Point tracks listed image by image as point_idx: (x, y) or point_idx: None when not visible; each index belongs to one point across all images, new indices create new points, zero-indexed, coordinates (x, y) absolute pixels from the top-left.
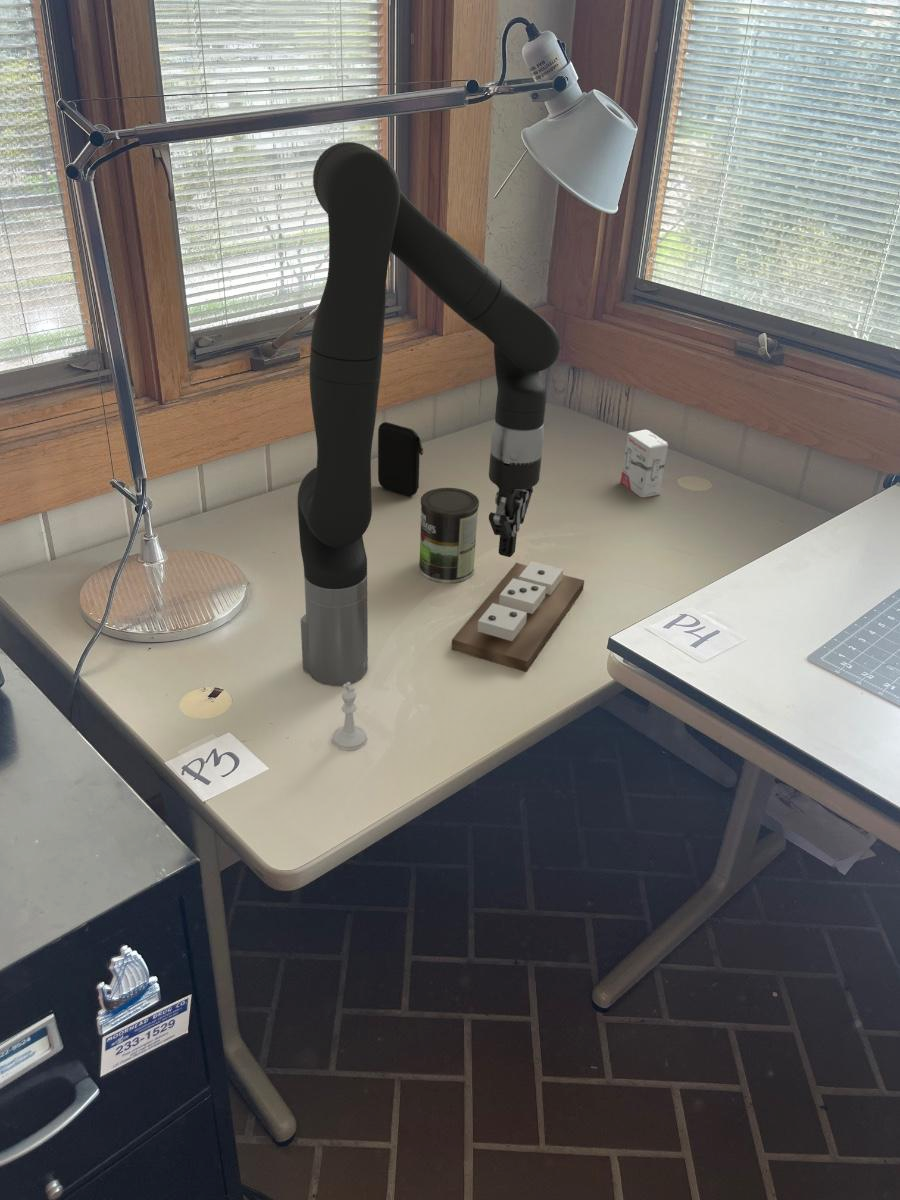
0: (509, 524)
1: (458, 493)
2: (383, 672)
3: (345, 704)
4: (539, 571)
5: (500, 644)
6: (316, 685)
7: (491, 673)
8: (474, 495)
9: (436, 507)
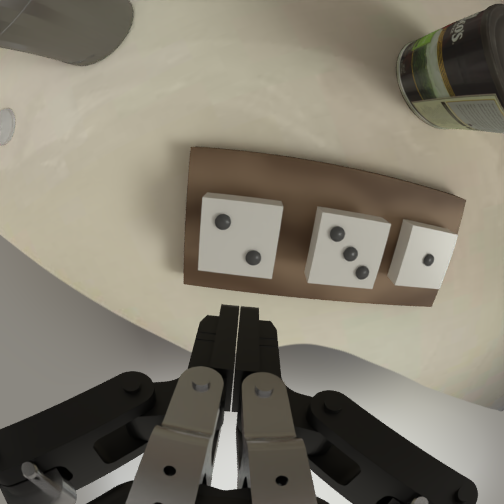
0: (102, 475)
1: None
2: (104, 81)
3: None
4: (430, 257)
5: None
6: None
7: (161, 228)
8: None
9: (502, 34)
